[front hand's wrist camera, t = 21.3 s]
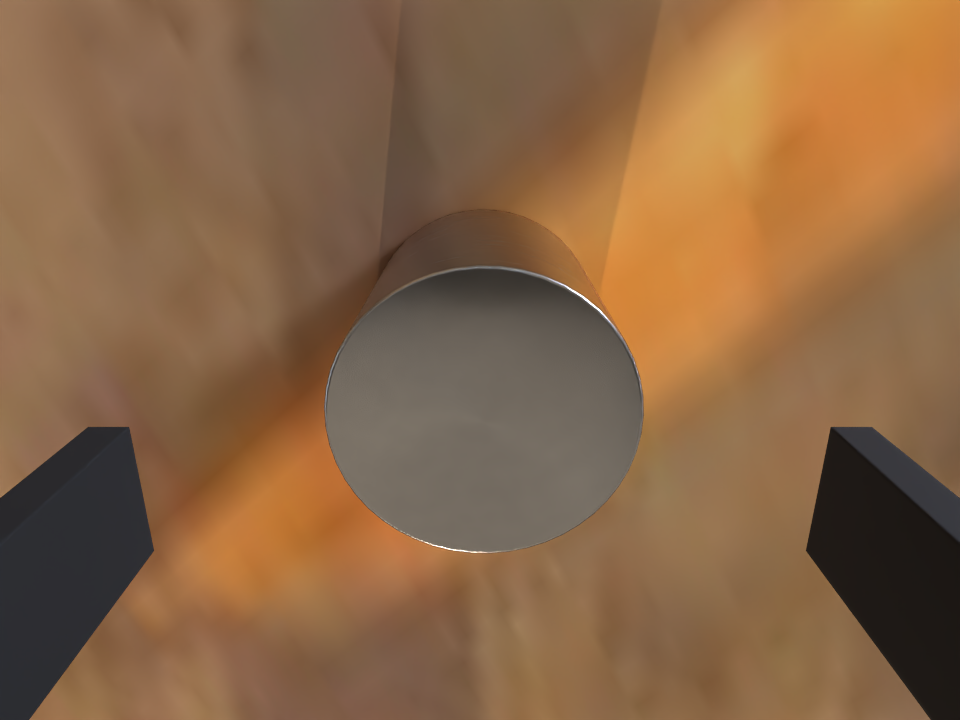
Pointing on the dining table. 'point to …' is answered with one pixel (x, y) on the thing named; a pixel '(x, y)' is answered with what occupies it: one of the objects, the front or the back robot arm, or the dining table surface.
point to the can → (484, 389)
